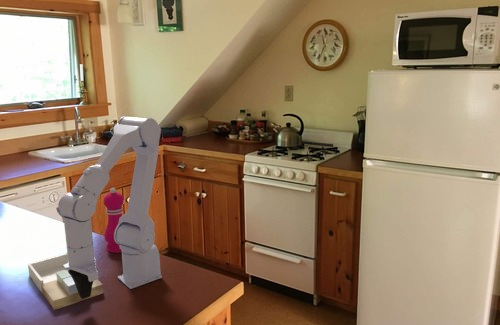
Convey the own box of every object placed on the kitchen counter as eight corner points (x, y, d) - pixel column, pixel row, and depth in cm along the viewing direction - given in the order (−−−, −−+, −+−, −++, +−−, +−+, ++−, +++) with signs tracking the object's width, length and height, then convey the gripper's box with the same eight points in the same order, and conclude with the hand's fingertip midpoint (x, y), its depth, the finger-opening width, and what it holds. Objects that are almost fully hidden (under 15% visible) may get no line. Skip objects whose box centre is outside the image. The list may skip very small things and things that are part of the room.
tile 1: (74, 275, 116) (73, 266, 116) (80, 281, 113) (79, 273, 112) (57, 280, 113) (56, 272, 113) (62, 287, 110) (61, 278, 110)
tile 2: (81, 282, 113) (80, 273, 112) (87, 289, 109) (86, 280, 109) (63, 287, 110) (62, 279, 109) (69, 295, 107) (68, 286, 106)
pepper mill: (120, 241, 143) (116, 183, 138) (134, 247, 139) (129, 187, 134) (100, 249, 138) (95, 188, 133) (114, 255, 133) (109, 193, 128)
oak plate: (88, 278, 120) (87, 270, 119) (103, 293, 112) (102, 284, 112) (42, 293, 112) (41, 284, 112) (54, 310, 105) (53, 300, 104)
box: (73, 262, 129) (72, 251, 128) (88, 278, 120) (87, 266, 119) (29, 275, 121) (27, 264, 120) (42, 293, 112) (40, 280, 111)
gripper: (52, 238, 104) (58, 290, 107) (73, 259, 93) (79, 316, 96) (81, 231, 108) (86, 280, 112) (105, 250, 98) (110, 304, 101)
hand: (85, 296), depth 104 cm, fingers closed
